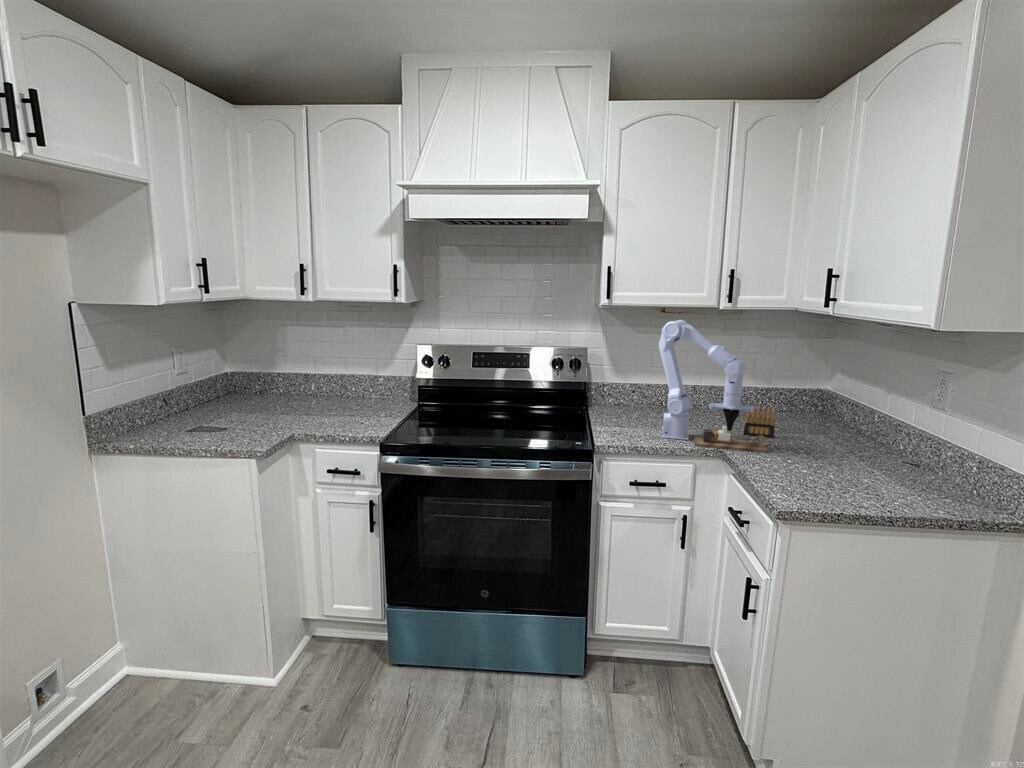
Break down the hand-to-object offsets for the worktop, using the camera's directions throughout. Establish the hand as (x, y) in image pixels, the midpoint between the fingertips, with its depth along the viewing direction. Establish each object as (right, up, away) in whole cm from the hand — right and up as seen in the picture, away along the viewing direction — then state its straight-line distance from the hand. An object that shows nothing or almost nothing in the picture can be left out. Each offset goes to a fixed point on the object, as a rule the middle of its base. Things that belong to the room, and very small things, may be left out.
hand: (729, 430), depth 199 cm
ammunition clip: (+17, -4, +14) cm, 22 cm away
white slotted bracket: (-2, -3, +1) cm, 4 cm away
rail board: (0, -6, +1) cm, 6 cm away
